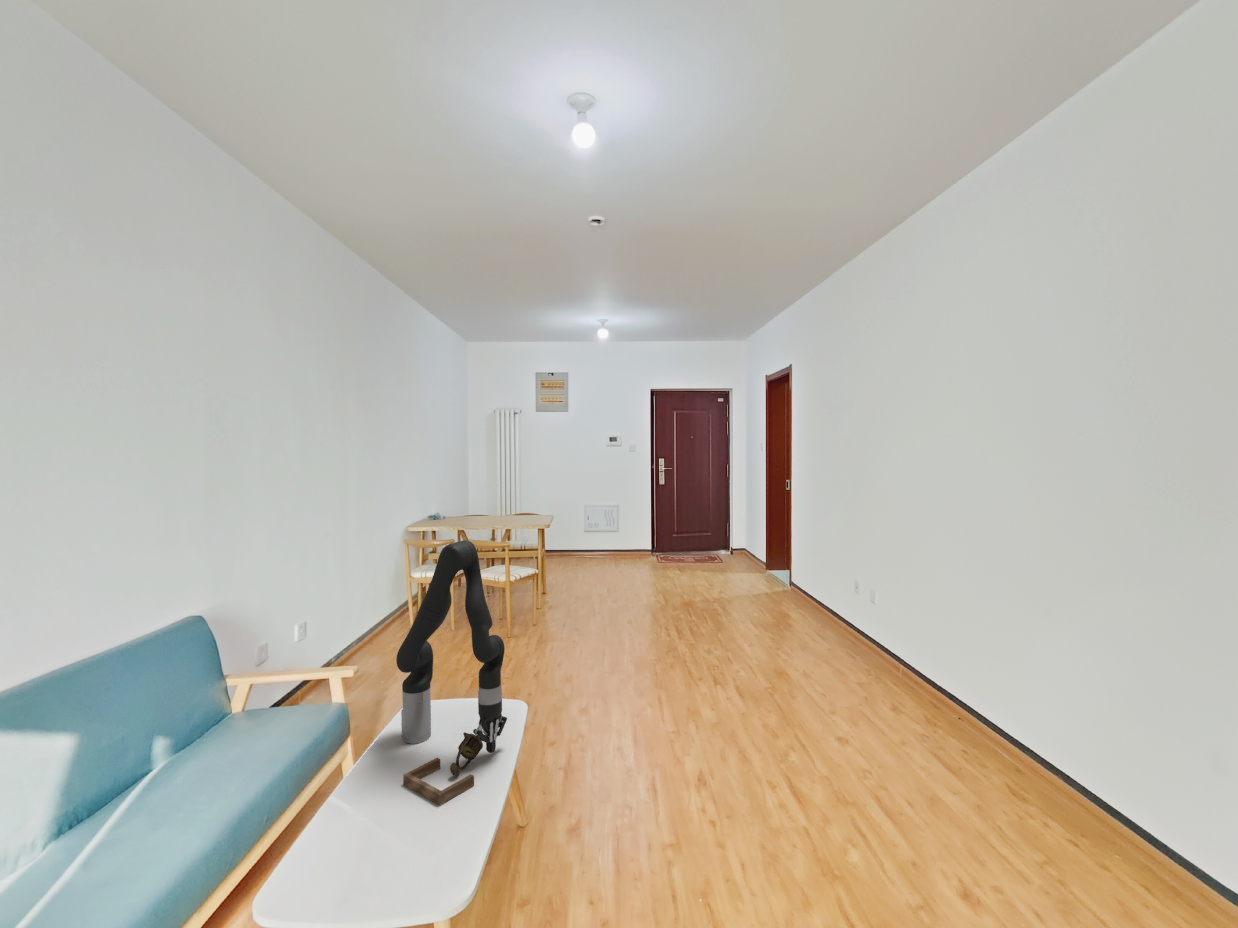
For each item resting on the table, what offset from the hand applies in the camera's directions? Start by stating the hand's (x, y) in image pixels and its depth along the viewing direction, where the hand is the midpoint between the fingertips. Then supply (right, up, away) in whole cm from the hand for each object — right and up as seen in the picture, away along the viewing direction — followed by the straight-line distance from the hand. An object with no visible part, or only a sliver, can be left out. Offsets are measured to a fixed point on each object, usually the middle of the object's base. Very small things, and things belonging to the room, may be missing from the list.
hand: (490, 751), depth 190 cm
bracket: (-12, -2, -16) cm, 20 cm away
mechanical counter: (-6, -2, -7) cm, 10 cm away
